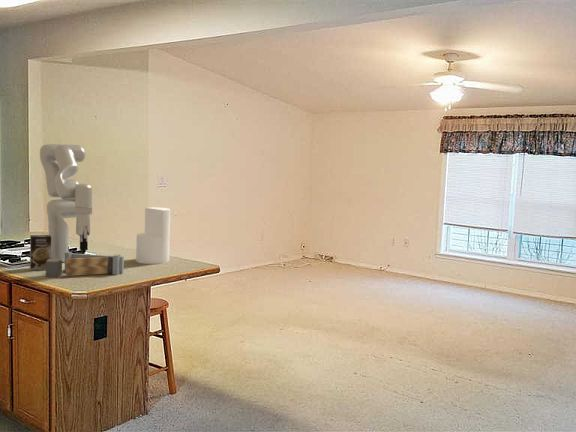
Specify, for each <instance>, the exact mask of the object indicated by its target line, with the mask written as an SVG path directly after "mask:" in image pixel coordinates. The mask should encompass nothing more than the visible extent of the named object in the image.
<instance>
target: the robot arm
mask: <svg viewBox="0 0 576 432" xmlns="http://www.w3.org/2000/svg"><path fill="white" fill-rule="evenodd" d="M85 158H86V152H85V149H84V148H83V146H82V145H79V144H78V145H77V144H58V143H49V144H48V143H47V144H43V145H42V146H41V147H40V149H39V159H40V162H41V165H42V167H43V170H44V172H45V180H46V183H45V184H46V189H47V194H48V196H49V197H51V198H60V199H52V200H50V201H48V202H47V204H46V214H47V221H48V223H47V224H48V225H47V226H48V229H47V230H48V235H51V259H52V258H53V259H61V260H62V263H65V252H69V225H68V223H67V222H66V221H65V219H71V218H72V219H73V218H75V219H76V223H75V225H76V226H75V234H76V235H77V236H79V250H80V251H87V250H88V246H89V244H88V237H89V236H90V234H91V215H93V187H92V186H91V185H90V184H86V183H79V181H78V180H76V179H71V178H70V177H73V176H75V175H76V174H77V173H78V171H79V166H78V165H79V164H78V163H82V162H83V161H84V160H85ZM69 178H70V179H69Z"/></svg>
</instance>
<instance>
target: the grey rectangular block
mask: <svg viewBox="0 0 576 432" xmlns="http://www.w3.org/2000/svg"><path fill="white" fill-rule="evenodd" d="M61 276H63V262H62V260H61V259H53V258H52V259H49V260H47V261H46V270H45V278H59V277H61Z"/></svg>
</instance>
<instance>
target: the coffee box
mask: <svg viewBox="0 0 576 432" xmlns="http://www.w3.org/2000/svg"><path fill="white" fill-rule="evenodd" d="M29 236H30V237H29V238H30V239H29V245H30V246H29V250H30V251H29V269H30V271H46V261H47V260H49V259H51V235H49V234H34V235H33V234H30V235H29Z"/></svg>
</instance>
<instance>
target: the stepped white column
mask: <svg viewBox="0 0 576 432" xmlns="http://www.w3.org/2000/svg"><path fill="white" fill-rule="evenodd" d="M170 239H171V209H170V208H168V207H155V206H154V207H153V206H149V207H148V206H145V207H144V232H143V233H138V234H136V249H135V250H136V253H135V254H136V256H135V257H136V258H135V259H136V260H135V261H136V263H140V264H145V265H147V264H148V265H158V264H159V263H161V264H167V263H169V262H170V250H171V249H170V246H171V244H170V243H171V240H170ZM168 261H169V262H168ZM166 262H167V263H166ZM159 265H160V264H159Z"/></svg>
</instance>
